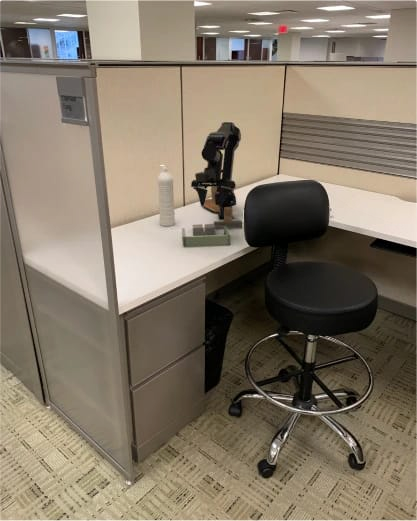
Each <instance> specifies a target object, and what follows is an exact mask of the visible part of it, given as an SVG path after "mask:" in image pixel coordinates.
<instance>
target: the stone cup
mask: <svg viewBox="0 0 417 521" xmlns="http://www.w3.org/2000/svg"><path fill="white" fill-rule="evenodd" d="M221 179H222V177H221ZM214 184H216V183H214ZM210 192H211V198H207V199H205V203H204V206H203V207H205V208H207V209H208V210H210V211H213V212H215V213H219V206H218V205H216V203H215V193H216V192H217V187H210Z"/></svg>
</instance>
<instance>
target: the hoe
mask: <svg viewBox="0 0 417 521" xmlns="http://www.w3.org/2000/svg"><path fill="white" fill-rule="evenodd" d="M232 216H233V207H232V208H231V207H224V219H223V220H217V221H216V220H214V221H213V224H214V225H215V231H216V230H217V231H218V230H224V227H227V229H228V230H239V229H243V221H242V219H241V220H239V219H238V220H233V219H232Z"/></svg>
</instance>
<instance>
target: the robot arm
mask: <svg viewBox="0 0 417 521" xmlns="http://www.w3.org/2000/svg"><path fill="white" fill-rule="evenodd" d="M241 140H242V134H241V129H240V128H239V127H238V126H236V125H235V123H234V122H232V121H230V122H229V121H223V122H221V126H220V127H219V128H218V129H217V130H216V131H213V132H210V133H209V134H208V135H207V136H206V140H205V142H204V144H203V149H202V151H201V157H202V159H203V160H204V161H205V162H207V165H206V166H207V167H205V168H204V169H203V170H204V171H200V172H196V173H195V174H194V176H195V179H193V180H191V183H190V188H193V190H195V191H196V192H197V196H198V199H199V203H200V206H201V207H205V206H204V203H205V200H206V198H207V195H208V192H209V191H208V187H209V188H211V187H217V192H216V193H215V203H216V205H218V206H219V212H218V214H217V217H218V219H219V220H224V207H231V208H232V209H233V207H234V206H237V198H236V194H235V189H236V187H237V186H236V182H235V181H234V180H233V171H234V168H233V167H234V163H235V162H234V161H235V151H236V150H237V149H238V147H239V146H240V142H241ZM222 151H224V152H222ZM221 178H222V179H221ZM214 183H216V184H214ZM233 219H234V216H233V215H232V220H233Z"/></svg>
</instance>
